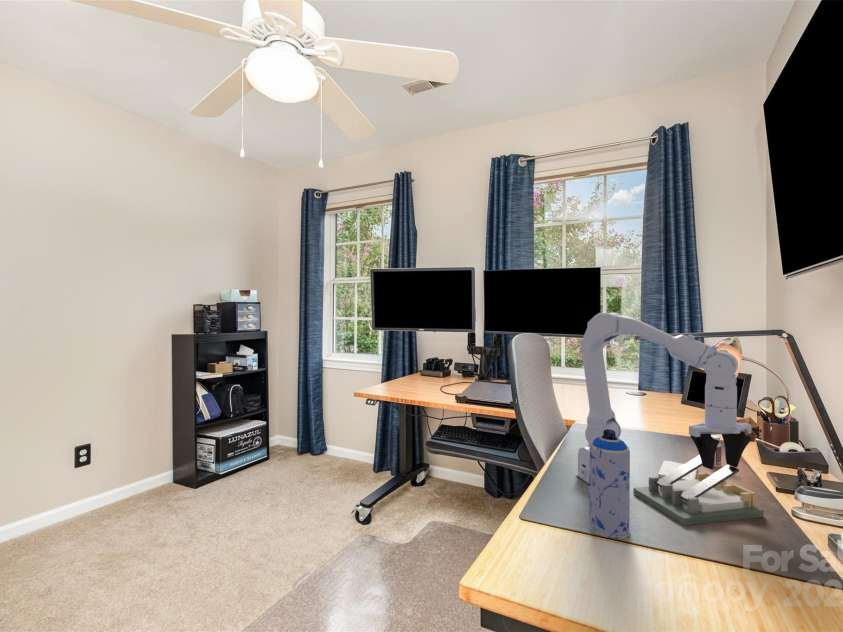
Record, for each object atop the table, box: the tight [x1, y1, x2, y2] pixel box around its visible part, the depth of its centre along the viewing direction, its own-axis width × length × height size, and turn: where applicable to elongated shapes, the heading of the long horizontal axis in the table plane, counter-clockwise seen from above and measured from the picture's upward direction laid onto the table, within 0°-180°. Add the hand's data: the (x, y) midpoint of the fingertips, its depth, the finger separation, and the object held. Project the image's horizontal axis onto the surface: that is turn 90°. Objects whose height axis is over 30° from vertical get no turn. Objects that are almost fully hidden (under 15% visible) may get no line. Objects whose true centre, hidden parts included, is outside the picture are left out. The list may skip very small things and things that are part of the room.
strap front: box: [679, 464, 740, 501], centre depth 90 cm, size 14×3×1 cm, turn 100°
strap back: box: [656, 455, 703, 487], centre depth 97 cm, size 14×3×1 cm, turn 100°
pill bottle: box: [711, 435, 722, 468], centre depth 119 cm, size 5×5×8 cm
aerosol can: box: [587, 429, 631, 540], centre depth 83 cm, size 8×8×20 cm
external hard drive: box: [657, 460, 698, 481], centre depth 112 cm, size 2×8×12 cm
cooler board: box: [632, 471, 765, 527], centre depth 94 cm, size 20×15×4 cm
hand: (719, 466), depth 91 cm, fingers open, 6 cm apart
